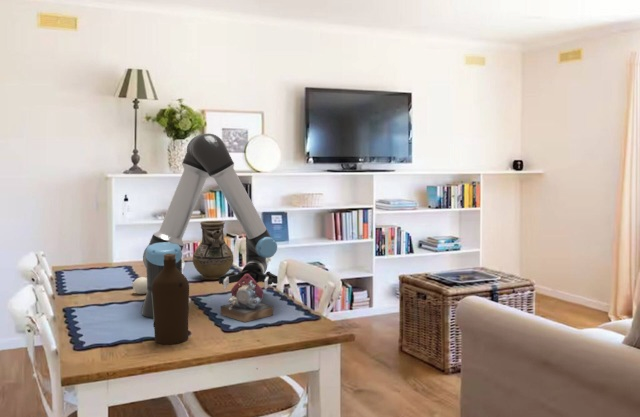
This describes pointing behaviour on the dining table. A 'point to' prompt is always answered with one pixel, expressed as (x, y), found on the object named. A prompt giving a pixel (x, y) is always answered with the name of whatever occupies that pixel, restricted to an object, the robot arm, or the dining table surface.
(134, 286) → the baseball
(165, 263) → the olive oil
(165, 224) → the robot arm
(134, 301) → the dining table surface
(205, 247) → the decorative pitcher
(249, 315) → the stand
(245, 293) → the brake caliper
